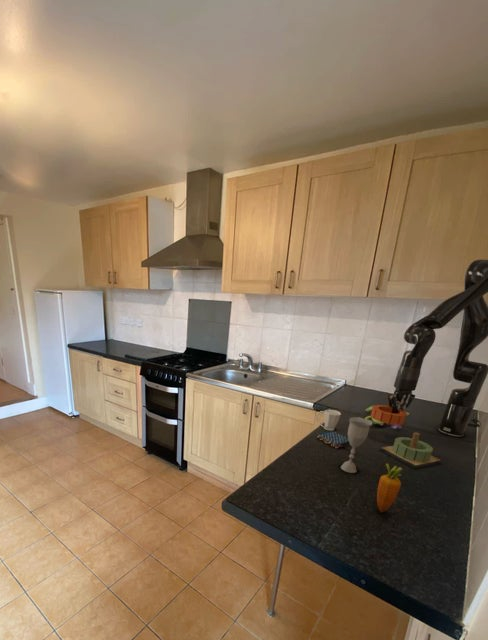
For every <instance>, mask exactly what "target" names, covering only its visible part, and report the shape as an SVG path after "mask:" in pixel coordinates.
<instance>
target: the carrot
mask: <svg viewBox="0 0 488 640" xmlns="http://www.w3.org/2000/svg"><path fill="white" fill-rule="evenodd" d="M385 466H386V470H387V474H383V475H381V476H380V477H379V482H378V485H377V490H376V503H377V508H378V511H379V512H380V514H381V513H385V512H386V511H388V509H389V508H390V507H391V506H392V505H393V504H394V502H395V500H396V499H397V497H398V495H399V493H400V489H401V486H402V483H401V480H400V479H399V477H401V476H402V474H401V472H402V471H403V468H402V467H400V466H399V467H398V466H397V465H394V466H393V467H392V468H390V464H389V463H385Z"/></svg>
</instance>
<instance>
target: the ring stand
mask: <svg viewBox="0 0 488 640" xmlns="http://www.w3.org/2000/svg"><path fill="white" fill-rule="evenodd" d="M420 435H421V433H419V432H415V431H414V432H413V433H412V437H411V438H412V440H411V443H410V446H409V447H411V448H416V445H417V442H418V440H419V439H420ZM381 449H383V450H385V451H386V452H389V453H390V454H392V455H395V456H397V457H398V458H400V459H402V460H404V461H406V462H408V463H410V464H411V465H414V466H419V465H425V464H429V463H434V462H439V461H441V459H440V458H438V457H436V456H433V455H432V454H431V457H430V460H429V461H425V462H420V461H415V460H410V459H406V458H405V457H401V456H399V455H398V454H397V453H395V452H394V451H393V450H392V449H393V445H389V446H382V447H381Z"/></svg>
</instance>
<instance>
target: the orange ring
mask: <svg viewBox="0 0 488 640" xmlns="http://www.w3.org/2000/svg"><path fill="white" fill-rule="evenodd" d="M372 406H373V408H372V410H371V412H370V416H371V417H372V418H373V419H375V420H377V421H381V422H383V424H387V425H400V426H402V425H405V422H406V418H407V416H406V415H407V413H408V412H407V411H405V409H404V410H401V409H399V412H398V414H394V413H392V408H391V407H389V405H387V404H375V406H374V405H372ZM406 412H407V413H406ZM372 418H371V419H372Z"/></svg>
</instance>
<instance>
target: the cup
mask: <svg viewBox="0 0 488 640" xmlns="http://www.w3.org/2000/svg"><path fill="white" fill-rule="evenodd" d="M320 413H322V414H323V415H324V416H323V417H324V419H323V422H324V423H323V424H324V425H323V424H322V423H321V422H320V420H319V417H318V416H319V414H320ZM341 415H342V414H341V412H340V411H339V410H335V409H329V408H328V409H324V410H320V411H319V412H317V414H316V416H315V419H316V421H317V423H318V424H319V425H320V426H321V427H322V428H323V429H324V430H326V431H328V432H331V431H333V432H335V429H336V427H337V425H338V423H339V420H340V418H341Z"/></svg>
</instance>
